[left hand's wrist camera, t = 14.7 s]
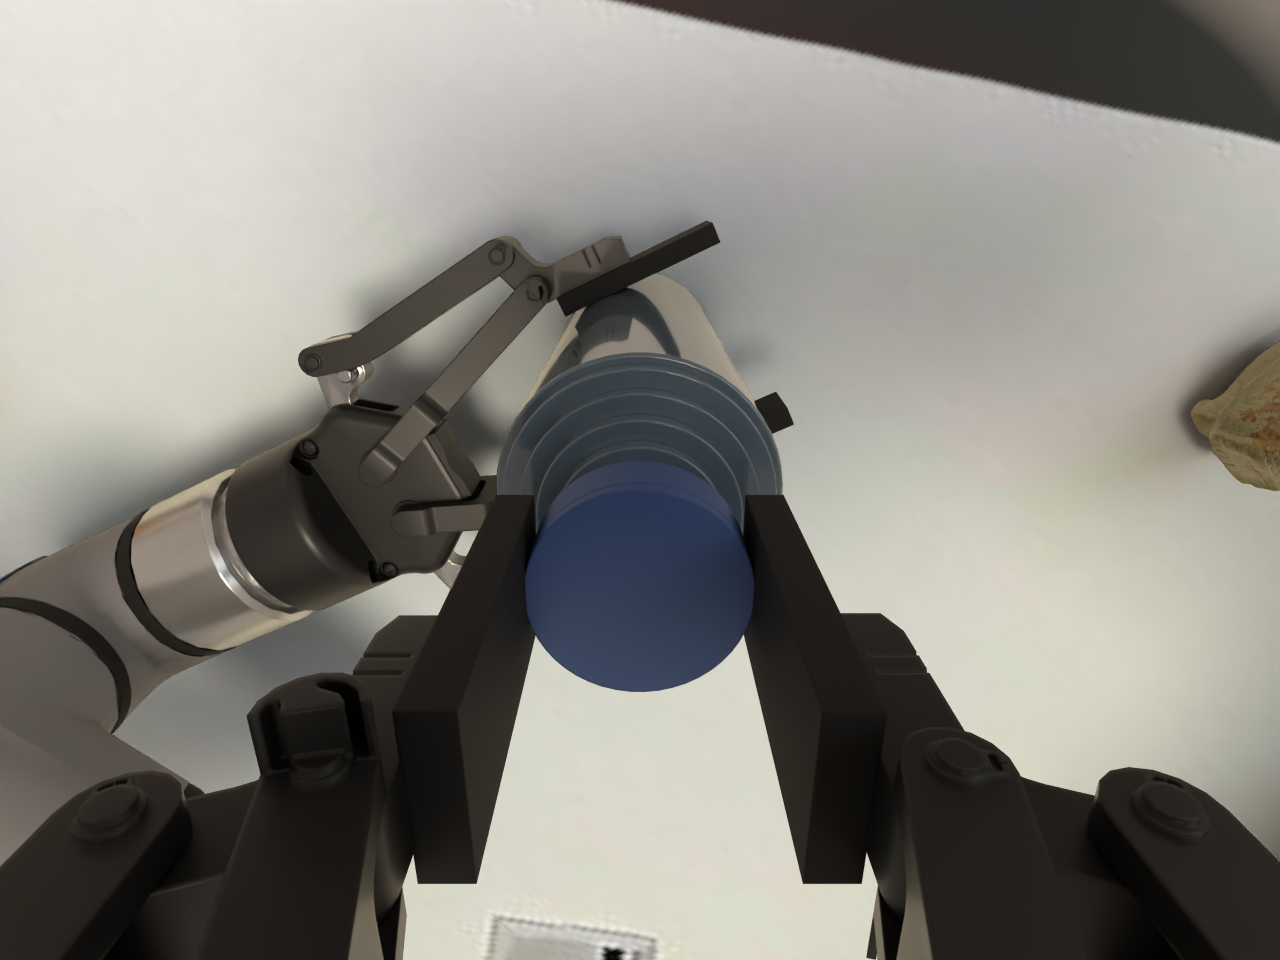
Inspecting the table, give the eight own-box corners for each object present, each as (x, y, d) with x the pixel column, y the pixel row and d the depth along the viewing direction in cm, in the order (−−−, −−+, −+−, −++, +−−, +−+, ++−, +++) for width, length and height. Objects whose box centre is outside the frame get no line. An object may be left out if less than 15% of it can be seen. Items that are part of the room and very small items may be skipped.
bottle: (587, 424, 38) (510, 759, 15) (554, 288, 35) (401, 447, 13) (721, 397, 37) (845, 702, 15) (696, 256, 35) (801, 366, 12)
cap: (729, 653, 16) (739, 700, 14) (531, 639, 15) (520, 684, 14) (757, 468, 14) (771, 499, 13) (538, 450, 14) (526, 480, 12)
